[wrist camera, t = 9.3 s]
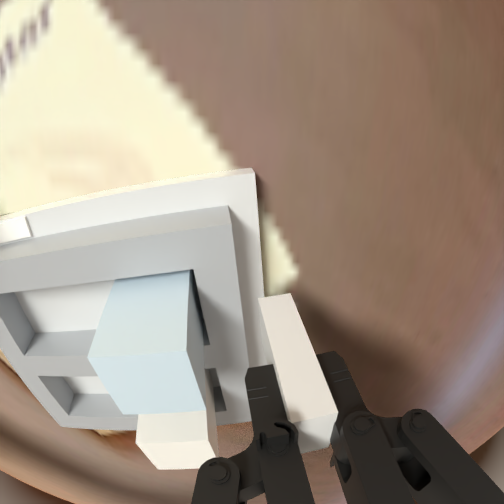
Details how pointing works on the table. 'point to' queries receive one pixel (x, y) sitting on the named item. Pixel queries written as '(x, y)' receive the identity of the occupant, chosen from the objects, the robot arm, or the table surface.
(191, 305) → the pale blue block
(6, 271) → the switch bank
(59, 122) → the table surface
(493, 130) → the table surface
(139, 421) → the ivory tab
